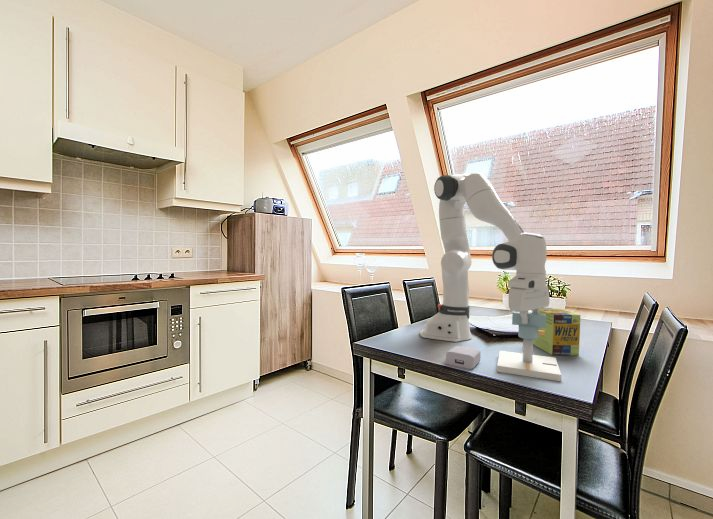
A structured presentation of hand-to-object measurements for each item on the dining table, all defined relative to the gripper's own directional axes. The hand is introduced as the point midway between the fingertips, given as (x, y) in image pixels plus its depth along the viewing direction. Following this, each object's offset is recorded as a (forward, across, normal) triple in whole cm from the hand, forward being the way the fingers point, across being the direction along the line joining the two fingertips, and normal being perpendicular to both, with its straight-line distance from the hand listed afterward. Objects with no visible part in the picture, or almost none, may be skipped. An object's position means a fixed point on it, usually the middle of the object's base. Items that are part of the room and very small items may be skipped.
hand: (529, 322), depth 116 cm
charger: (+16, +12, -16) cm, 25 cm away
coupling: (+5, 0, 0) cm, 5 cm away
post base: (+15, 0, 0) cm, 15 cm away
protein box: (+15, -30, -5) cm, 34 cm away
